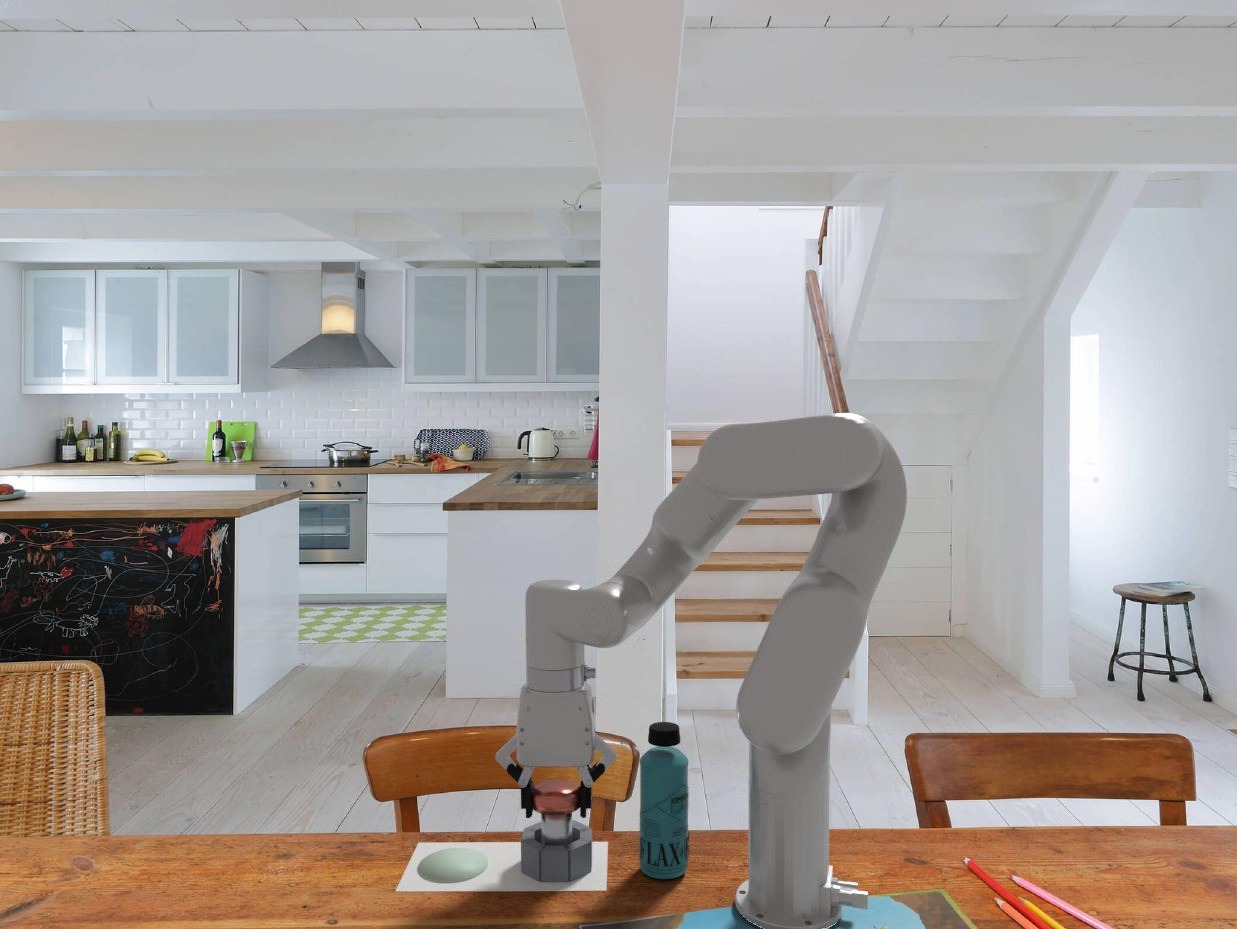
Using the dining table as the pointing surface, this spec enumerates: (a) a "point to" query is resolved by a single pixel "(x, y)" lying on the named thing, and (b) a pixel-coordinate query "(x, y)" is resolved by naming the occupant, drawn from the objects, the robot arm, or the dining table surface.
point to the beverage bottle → (664, 805)
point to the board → (509, 865)
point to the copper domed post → (556, 810)
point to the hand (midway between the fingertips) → (556, 812)
